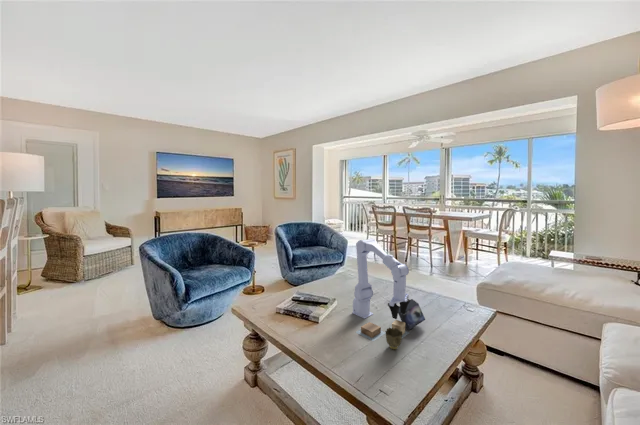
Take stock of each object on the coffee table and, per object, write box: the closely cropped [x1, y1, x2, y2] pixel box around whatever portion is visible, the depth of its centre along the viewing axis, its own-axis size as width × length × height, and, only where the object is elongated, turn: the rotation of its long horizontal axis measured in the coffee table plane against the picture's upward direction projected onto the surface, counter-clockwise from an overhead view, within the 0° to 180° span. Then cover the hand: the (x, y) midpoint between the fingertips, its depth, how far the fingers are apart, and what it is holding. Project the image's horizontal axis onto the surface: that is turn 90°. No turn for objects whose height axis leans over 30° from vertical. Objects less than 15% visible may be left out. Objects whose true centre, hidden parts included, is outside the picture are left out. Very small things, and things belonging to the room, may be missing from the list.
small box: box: [398, 298, 426, 331], centre depth 143 cm, size 11×6×10 cm, turn 101°
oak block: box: [391, 319, 406, 335], centre depth 138 cm, size 5×5×5 cm
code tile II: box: [402, 330, 410, 339], centre depth 138 cm, size 8×8×1 cm
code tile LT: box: [355, 328, 386, 342], centre depth 138 cm, size 11×11×1 cm
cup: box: [384, 327, 403, 351], centre depth 125 cm, size 8×7×8 cm
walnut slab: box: [360, 321, 382, 338], centre depth 138 cm, size 7×7×3 cm
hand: (398, 315), depth 135 cm, fingers open, 7 cm apart
